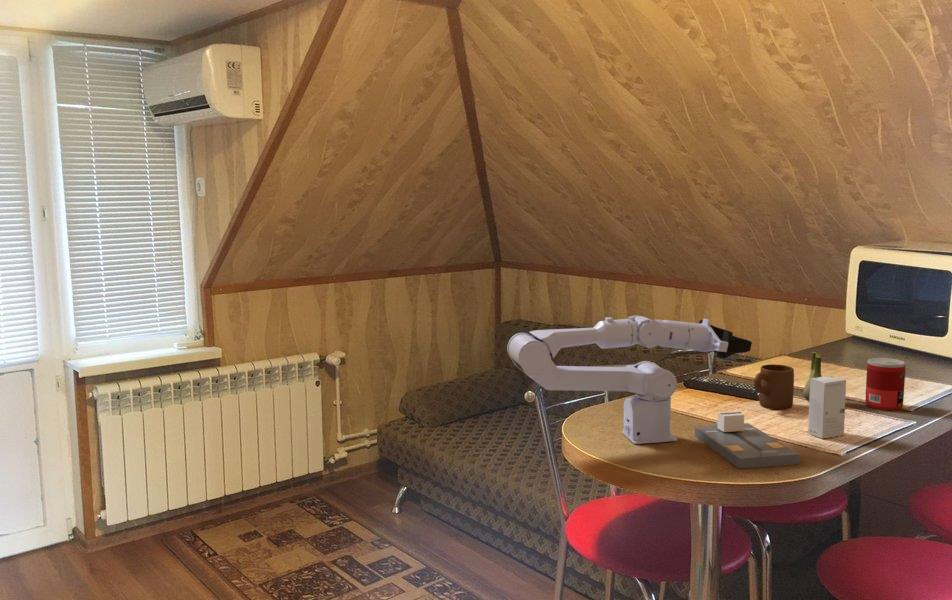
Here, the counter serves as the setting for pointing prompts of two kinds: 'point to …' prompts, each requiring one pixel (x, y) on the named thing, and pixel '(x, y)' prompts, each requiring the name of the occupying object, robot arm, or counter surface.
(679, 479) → the counter surface
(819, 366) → the fennel bulb
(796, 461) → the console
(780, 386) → the mug
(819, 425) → the skincare box
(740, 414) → the fader knob
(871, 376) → the canned food
